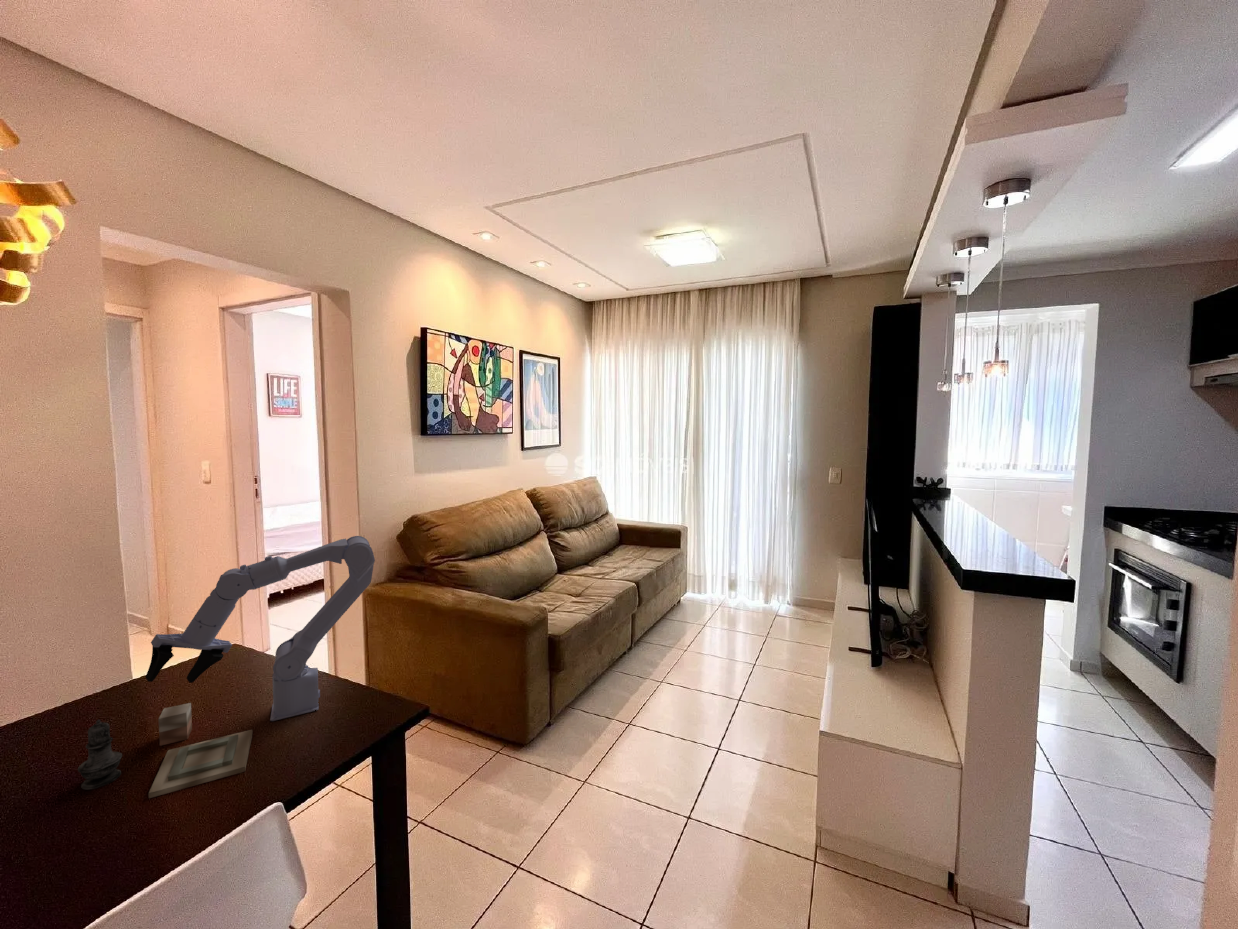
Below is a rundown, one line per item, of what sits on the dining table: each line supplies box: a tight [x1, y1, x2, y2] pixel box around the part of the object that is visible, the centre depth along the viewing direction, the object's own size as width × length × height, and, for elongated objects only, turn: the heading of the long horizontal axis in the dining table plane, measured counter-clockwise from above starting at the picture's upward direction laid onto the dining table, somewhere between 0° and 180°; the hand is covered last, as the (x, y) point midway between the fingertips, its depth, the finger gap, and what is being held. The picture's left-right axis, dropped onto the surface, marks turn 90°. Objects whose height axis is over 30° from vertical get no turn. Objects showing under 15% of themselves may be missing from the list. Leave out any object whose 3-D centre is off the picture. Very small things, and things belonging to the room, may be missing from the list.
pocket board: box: [148, 729, 254, 799], centre depth 99 cm, size 14×14×2 cm
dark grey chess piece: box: [77, 718, 123, 791], centre depth 93 cm, size 6×6×12 cm
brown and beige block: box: [158, 702, 193, 747], centre depth 107 cm, size 4×4×6 cm
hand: (169, 680), depth 105 cm, fingers open, 7 cm apart
